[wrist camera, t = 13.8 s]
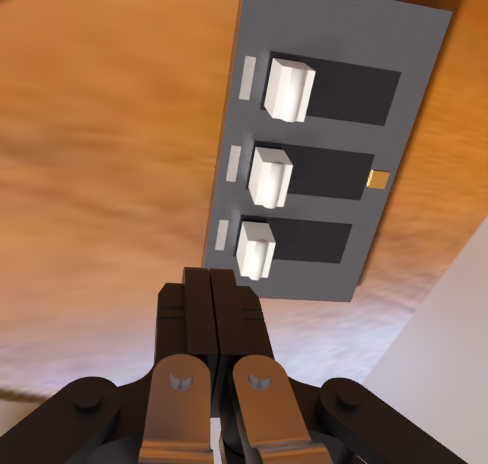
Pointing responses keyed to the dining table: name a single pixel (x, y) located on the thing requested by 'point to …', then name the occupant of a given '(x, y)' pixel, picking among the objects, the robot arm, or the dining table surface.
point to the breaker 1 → (255, 250)
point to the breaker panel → (320, 135)
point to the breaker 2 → (289, 90)
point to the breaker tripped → (270, 177)
